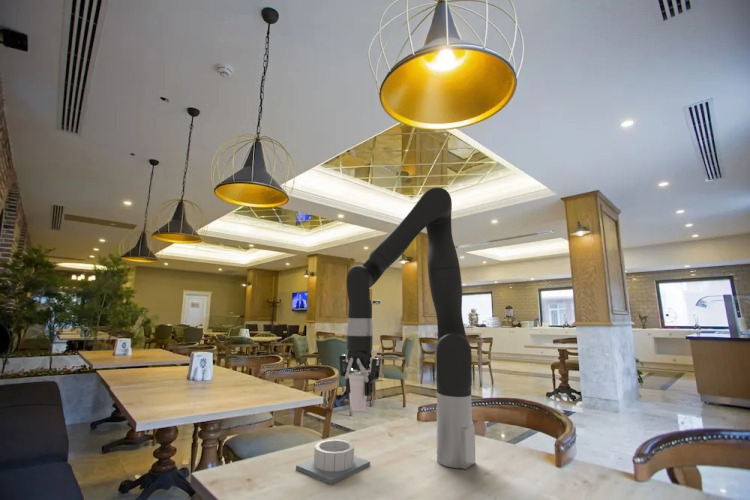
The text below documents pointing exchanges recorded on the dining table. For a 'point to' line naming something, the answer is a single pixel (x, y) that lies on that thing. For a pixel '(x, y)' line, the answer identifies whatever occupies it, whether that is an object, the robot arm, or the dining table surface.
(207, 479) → the dining table surface
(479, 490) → the dining table surface
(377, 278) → the robot arm
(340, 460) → the holder
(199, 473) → the dining table surface
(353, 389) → the smoothie
